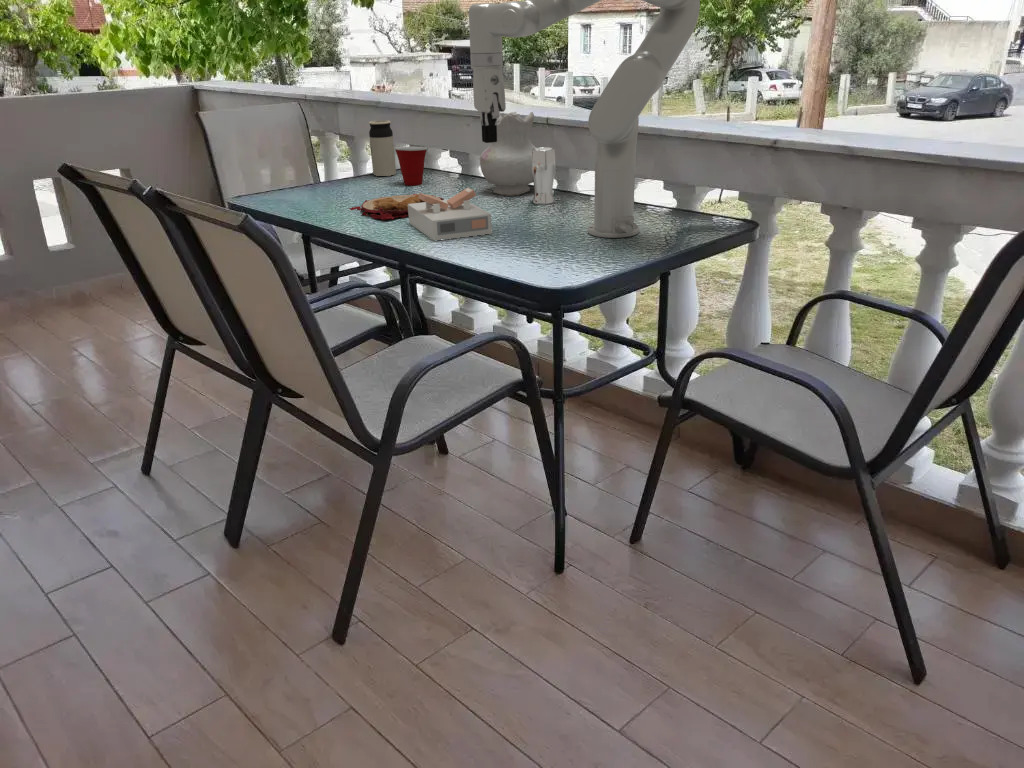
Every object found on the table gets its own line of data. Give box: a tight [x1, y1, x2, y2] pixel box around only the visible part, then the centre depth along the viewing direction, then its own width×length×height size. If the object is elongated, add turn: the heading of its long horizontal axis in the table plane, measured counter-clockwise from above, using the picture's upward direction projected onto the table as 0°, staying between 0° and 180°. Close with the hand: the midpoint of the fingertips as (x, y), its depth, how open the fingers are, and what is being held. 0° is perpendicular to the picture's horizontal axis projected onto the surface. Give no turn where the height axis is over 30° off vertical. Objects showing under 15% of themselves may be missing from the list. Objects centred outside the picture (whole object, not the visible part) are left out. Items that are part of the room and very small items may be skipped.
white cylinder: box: [531, 146, 556, 205], centre depth 226 cm, size 7×7×15 cm
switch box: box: [408, 199, 493, 241], centre depth 201 cm, size 22×15×7 cm
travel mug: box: [368, 120, 397, 177], centre depth 274 cm, size 8×8×18 cm
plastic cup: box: [394, 146, 428, 187], centre depth 258 cm, size 11×11×12 cm
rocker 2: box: [446, 187, 477, 209], centre depth 201 cm, size 5×7×2 cm
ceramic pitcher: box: [479, 111, 537, 197], centre depth 241 cm, size 22×20×25 cm
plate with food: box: [348, 193, 445, 221], centre depth 227 cm, size 25×26×4 cm
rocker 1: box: [418, 192, 449, 210], centre depth 198 cm, size 5×7×2 cm
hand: (489, 141), depth 194 cm, fingers closed
